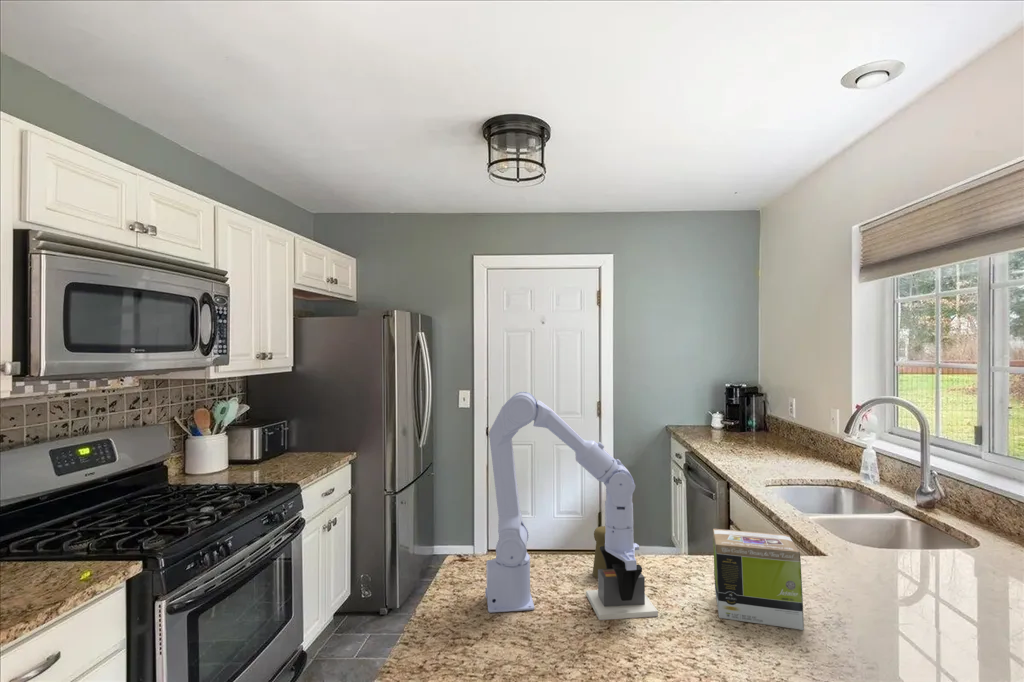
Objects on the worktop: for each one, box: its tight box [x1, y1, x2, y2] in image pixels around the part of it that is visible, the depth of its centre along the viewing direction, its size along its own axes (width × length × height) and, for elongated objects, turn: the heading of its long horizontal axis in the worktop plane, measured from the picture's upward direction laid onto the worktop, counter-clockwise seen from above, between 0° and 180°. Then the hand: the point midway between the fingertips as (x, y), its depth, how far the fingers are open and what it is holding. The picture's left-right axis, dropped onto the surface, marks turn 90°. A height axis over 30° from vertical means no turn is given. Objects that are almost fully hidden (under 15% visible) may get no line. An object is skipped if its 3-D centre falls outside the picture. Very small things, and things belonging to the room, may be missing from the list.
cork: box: [592, 525, 607, 580], centre depth 116 cm, size 6×6×11 cm
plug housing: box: [597, 569, 646, 606], centre depth 101 cm, size 8×4×6 cm, turn 95°
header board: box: [585, 589, 659, 621], centre depth 101 cm, size 12×10×4 cm
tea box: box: [712, 528, 805, 631], centre depth 98 cm, size 15×10×15 cm, turn 71°
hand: (620, 590), depth 101 cm, fingers open, 7 cm apart
